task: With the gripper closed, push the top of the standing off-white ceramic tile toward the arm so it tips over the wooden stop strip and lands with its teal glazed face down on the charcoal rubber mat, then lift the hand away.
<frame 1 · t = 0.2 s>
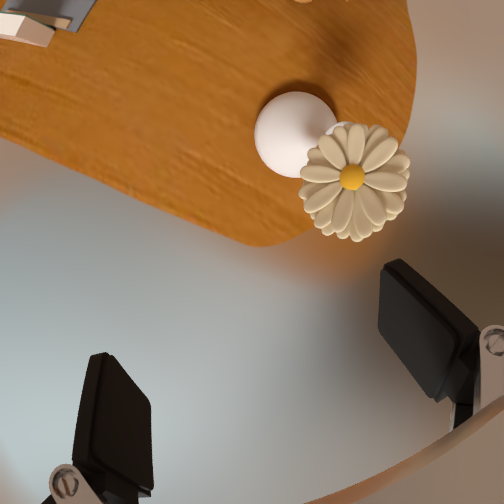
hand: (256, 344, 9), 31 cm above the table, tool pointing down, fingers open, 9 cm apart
flower in vase: (288, 137, 37), on the table
figurine: (294, 0, 28), on the table
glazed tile: (28, 34, 21), on the table
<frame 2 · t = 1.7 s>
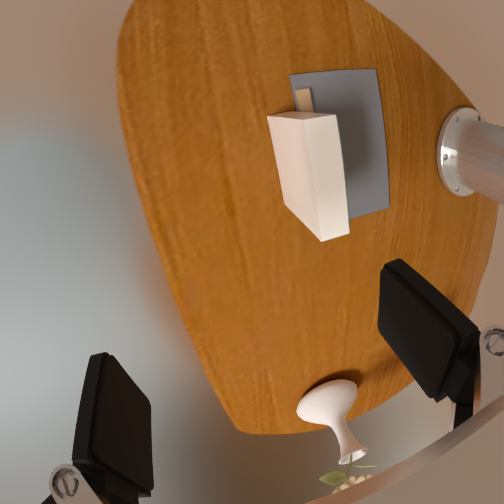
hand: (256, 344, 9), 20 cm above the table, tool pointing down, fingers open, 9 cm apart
charcoal mat: (346, 146, 28), on the table
flower in vase: (319, 393, 47), on the table
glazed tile: (288, 158, 28), on the table
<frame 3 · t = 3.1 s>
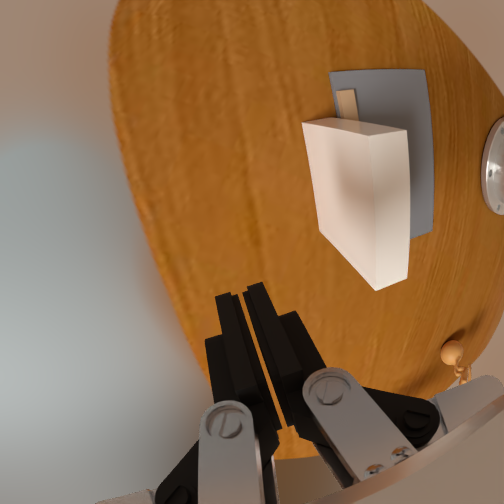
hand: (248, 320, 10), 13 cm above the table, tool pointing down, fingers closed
charcoal mat: (392, 161, 23), on the table
figurine: (440, 347, 39), on the table
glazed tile: (325, 175, 22), on the table
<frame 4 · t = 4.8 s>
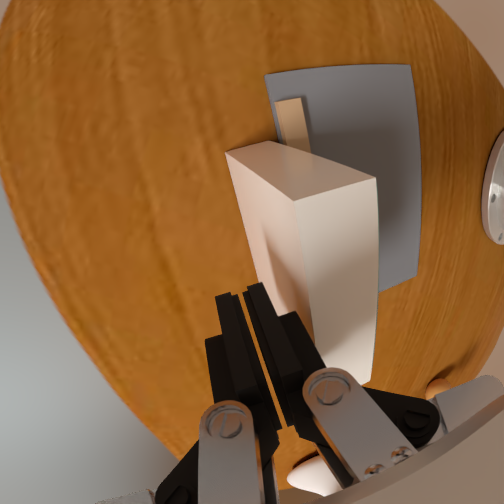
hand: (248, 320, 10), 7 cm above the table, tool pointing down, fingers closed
charcoal mat: (363, 194, 18), on the table
flower in vase: (313, 460, 37), on the table
figurine: (425, 385, 34), on the table
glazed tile: (265, 222, 17), on the table
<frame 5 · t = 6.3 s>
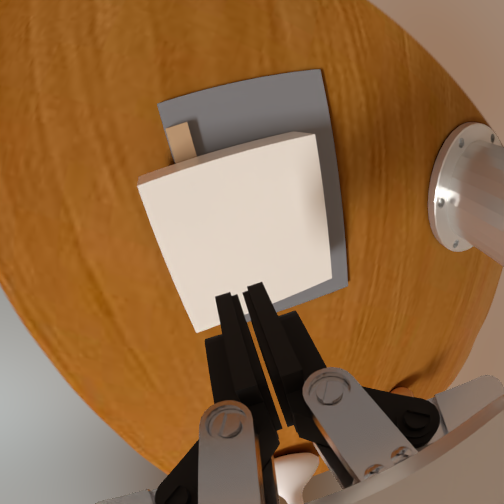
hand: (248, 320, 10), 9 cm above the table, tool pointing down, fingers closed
charcoal mat: (270, 207, 19), on the table
flower in vase: (275, 462, 38), on the table
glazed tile: (166, 259, 16), point 3 cm above the table, tilted 96°, touching charcoal mat
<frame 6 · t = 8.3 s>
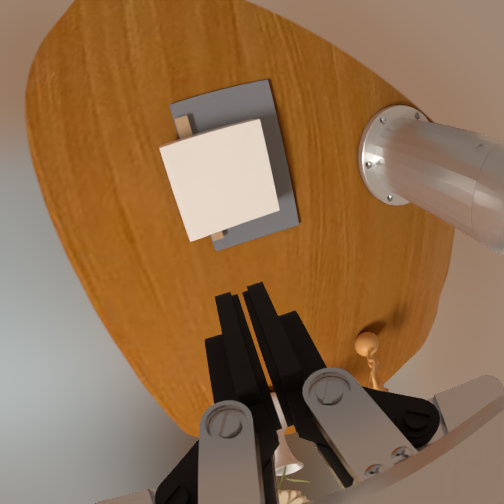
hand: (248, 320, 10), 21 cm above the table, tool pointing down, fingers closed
charcoal mat: (239, 166, 29), on the table
flower in vase: (261, 404, 48), on the table
figurine: (355, 338, 45), on the table
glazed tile: (173, 193, 26), point 3 cm above the table, tilted 96°, touching charcoal mat
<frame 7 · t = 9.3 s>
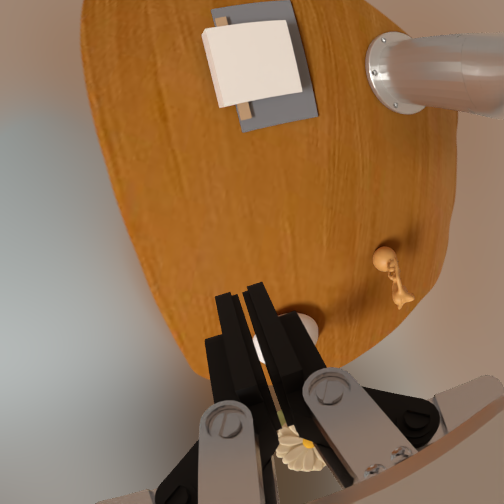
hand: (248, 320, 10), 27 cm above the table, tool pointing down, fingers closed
charcoal mat: (266, 61, 29), on the table
flower in vase: (277, 333, 49), on the table
figurine: (372, 255, 46), on the table
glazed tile: (212, 68, 26), point 3 cm above the table, tilted 96°, touching charcoal mat
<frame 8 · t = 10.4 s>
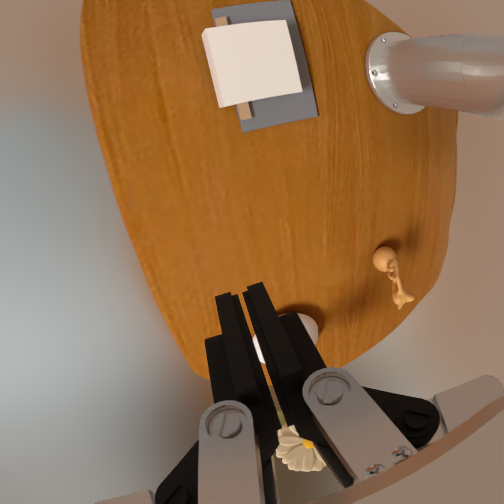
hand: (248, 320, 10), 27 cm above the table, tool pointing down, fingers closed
charcoal mat: (266, 61, 29), on the table
flower in vase: (277, 333, 49), on the table
figurine: (372, 255, 46), on the table
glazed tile: (212, 68, 26), point 3 cm above the table, tilted 96°, touching charcoal mat
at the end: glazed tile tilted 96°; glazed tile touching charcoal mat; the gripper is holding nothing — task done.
